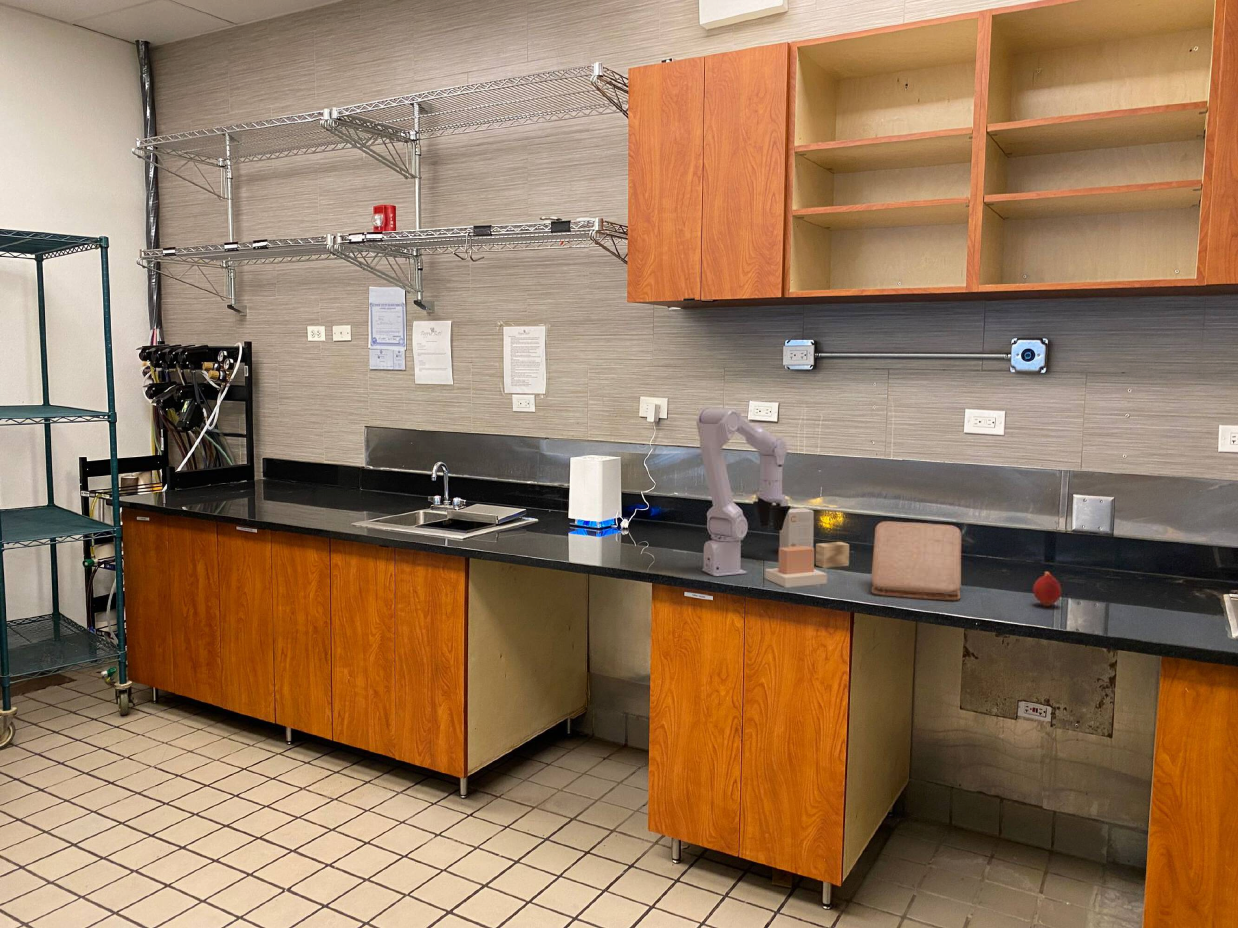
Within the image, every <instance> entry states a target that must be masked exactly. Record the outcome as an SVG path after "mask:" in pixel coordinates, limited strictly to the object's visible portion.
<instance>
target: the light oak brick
mask: <svg viewBox="0 0 1238 928" xmlns="http://www.w3.org/2000/svg"><path fill="white" fill-rule="evenodd" d="M849 564H850V544H848V543H846V542H842V541H836V542H834V541H833V542H822V543H816V544H815V566H818V567H821V568H823V569H826V568H827V569H829V568H840V567H847V566H848V567H849Z"/></svg>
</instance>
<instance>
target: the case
mask: <svg viewBox="0 0 1238 928" xmlns="http://www.w3.org/2000/svg"><path fill="white" fill-rule="evenodd" d="M872 554H873V555H872V566H871V576H870V577H871V578H870V579H871V584H872V587H871V593H872V594H874V595H876V596H880V597H881V596H882V597H893V598H894V597H895V598H897V597H898V598H909V599H921V600H922V599H924V600H935V601H949V602H950V601H951V602H953V601H954V602H955V601H959V600H960V599H961V591H960V589H961V586H962V533H961V530H960V528H958V527H957V526H955V525H951V524H942V523H941V524H940V523H939V524H938V523H937V524H936V523H927V522H923V523H922V522H907V521H906V522H903V521H889V520H888V521H887V520H885V521H881V522H879V523H878V524H876V526H875V528H874V541H873V553H872Z"/></svg>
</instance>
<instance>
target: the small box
mask: <svg viewBox="0 0 1238 928" xmlns="http://www.w3.org/2000/svg"><path fill="white" fill-rule="evenodd" d="M814 515H815V514H814V510H812V509H809V508H805V507H799V508H790V510H789V511H788V513H787V515H786V518H785V521H784V524H783V528H782V530H779V548H786V547H798V546H808V547H811V548H814V526H815V525H814V521H815V518H814Z"/></svg>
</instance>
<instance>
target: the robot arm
mask: <svg viewBox="0 0 1238 928" xmlns="http://www.w3.org/2000/svg"><path fill="white" fill-rule="evenodd" d="M695 424H696V427H697V432H698V436H699V437H698V438H699V448H700V453H701V457H702V462H703V466H704V471H705V475H706V481H707V485H708V489H709V493H710V498H711V502H712V507H710V508H709V509H708V511H707V512H706V517H707V519H706V521H707V522H706V526H707V527H706V528H707V531H708V533H709V535H711V536H710V537H711V538H710V539H712V540H708V541H706V542H705V543H704V545H703V568H702V571H703V572H706V573H708V574H709V575H711V576H713V577H721V576H732V575H733V576H734V575H743V574H747V573H748V572H747V570H744V569H741V561H742V560H741V559H742V557H741V555H742V554H741V552H742V551H741V550H742V549H741V545H742V543H741V541H743V540H744V538H745V536H746V535H747V532H748V528H749V525H748V521H747V519H746V517H745V515H744V513H743V510H742V509H741V508H740V507H739V506H738V505H737V504H736V503H735V502H734V498H733V494H732V488H731V484H730V480H729V475H728V470H727V465H726V461H725V460H726V459H725V456H724V452H723V451H724V450H723V447H724V446H725V445H727V444H728V443H729V441H730V440H731V439H732V437H733V436H734V435H735V433H738V434H739V435H741V436H743V437H744V438H745V439H744V440H745V442H746V443H747V444H748V445H749V446H751V447H752V448H753V449H755V450H756V451H757V453H758V456H759V457H761V485H760V486H761V490H760V491H759V492H755V500H756V501H752V503H753V505H754V508H755V510H756V513H757V516H758V520H759V525H760V526H761V527H767V526H769V525H770V515H772V521H773V522H772V523H773V531H776V532H777V531H779V532H780V530H782V528H783V524H784V521H785V518H786V515H787V513H788V511H789V510H790V509H791V505H789V498H786V495H785V494H783V465H784V463H785V459H786V455H787V453H788V447H787V442H786V440H784V439H783V438H782V437H775V436H774V434H773V433H772V432H768V430H766V429H765V426H763V425H762V424H761V425H760V424H759V425H758V424H757V425H751V423H749V422H748V421H747V420H746V419H744V417H742V413H741V412H740V411H737V409H734V408H728V409H727V408H710V407H703V408H702V409H701V410H700V411H699V414H698V416H697V418H696V421H695ZM773 504H774V505H773Z"/></svg>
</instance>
